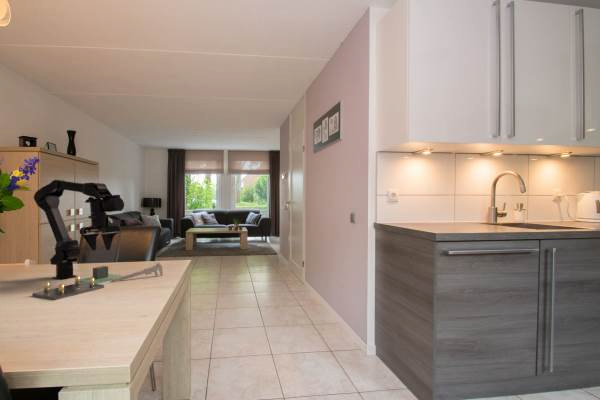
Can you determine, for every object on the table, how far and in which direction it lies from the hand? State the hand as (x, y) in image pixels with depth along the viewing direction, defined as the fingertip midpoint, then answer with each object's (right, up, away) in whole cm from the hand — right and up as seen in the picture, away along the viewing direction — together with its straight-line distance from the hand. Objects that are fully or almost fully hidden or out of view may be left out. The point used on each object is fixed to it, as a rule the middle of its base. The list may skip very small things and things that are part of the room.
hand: (101, 250), depth 146 cm
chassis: (0, -12, -19) cm, 23 cm away
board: (0, -13, 0) cm, 13 cm away
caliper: (+14, -13, +1) cm, 19 cm away
